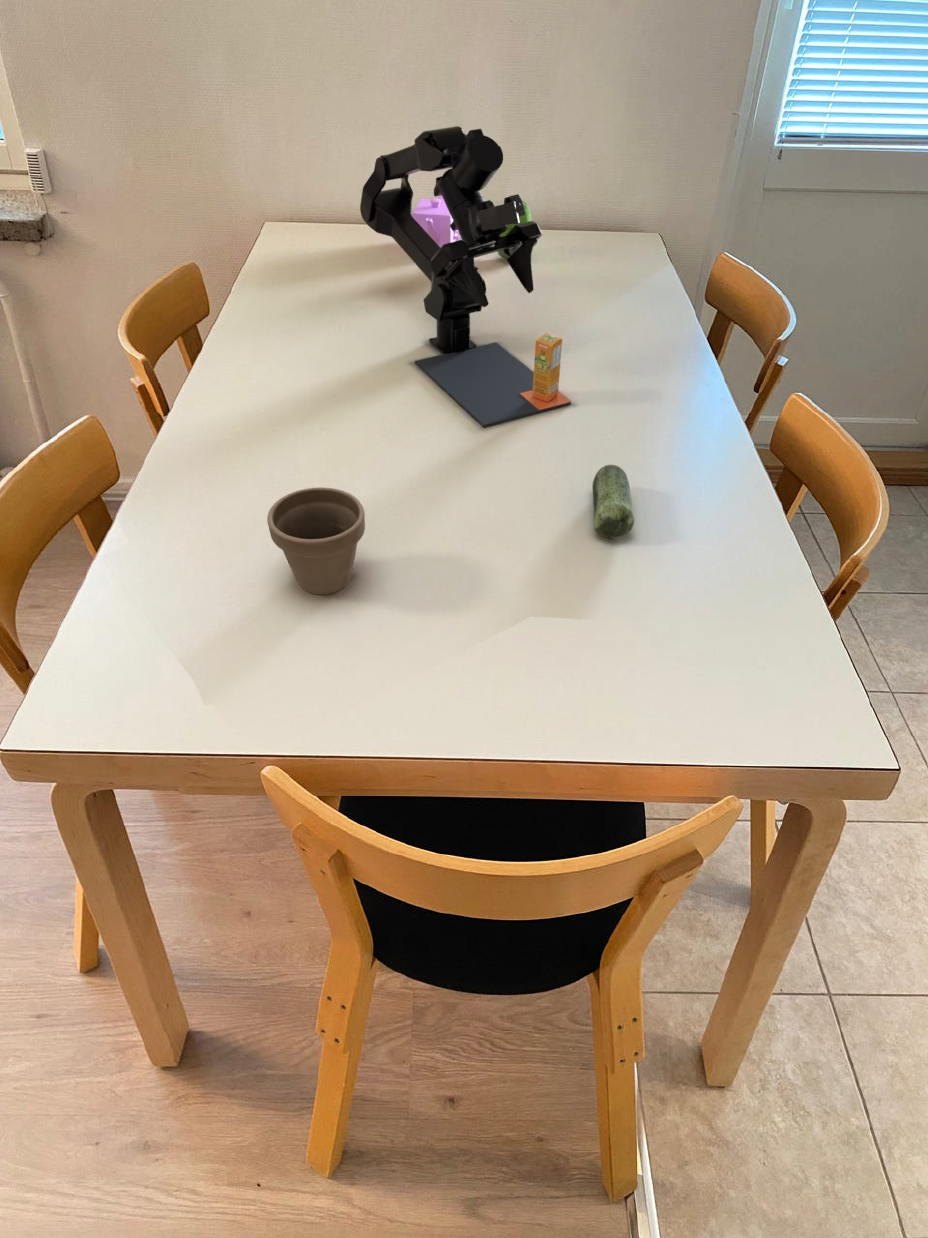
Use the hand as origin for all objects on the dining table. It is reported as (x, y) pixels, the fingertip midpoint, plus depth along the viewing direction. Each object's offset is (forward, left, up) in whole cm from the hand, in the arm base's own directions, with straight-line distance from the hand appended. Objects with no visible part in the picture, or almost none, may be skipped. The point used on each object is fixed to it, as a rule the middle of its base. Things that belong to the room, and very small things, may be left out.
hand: (509, 298), depth 152 cm
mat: (+1, -3, -14) cm, 14 cm away
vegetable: (+41, -7, -14) cm, 43 cm away
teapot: (-57, +16, -14) cm, 61 cm away
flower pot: (+36, -47, -14) cm, 61 cm away
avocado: (-44, +28, -14) cm, 54 cm away
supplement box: (+9, +2, -13) cm, 16 cm away
